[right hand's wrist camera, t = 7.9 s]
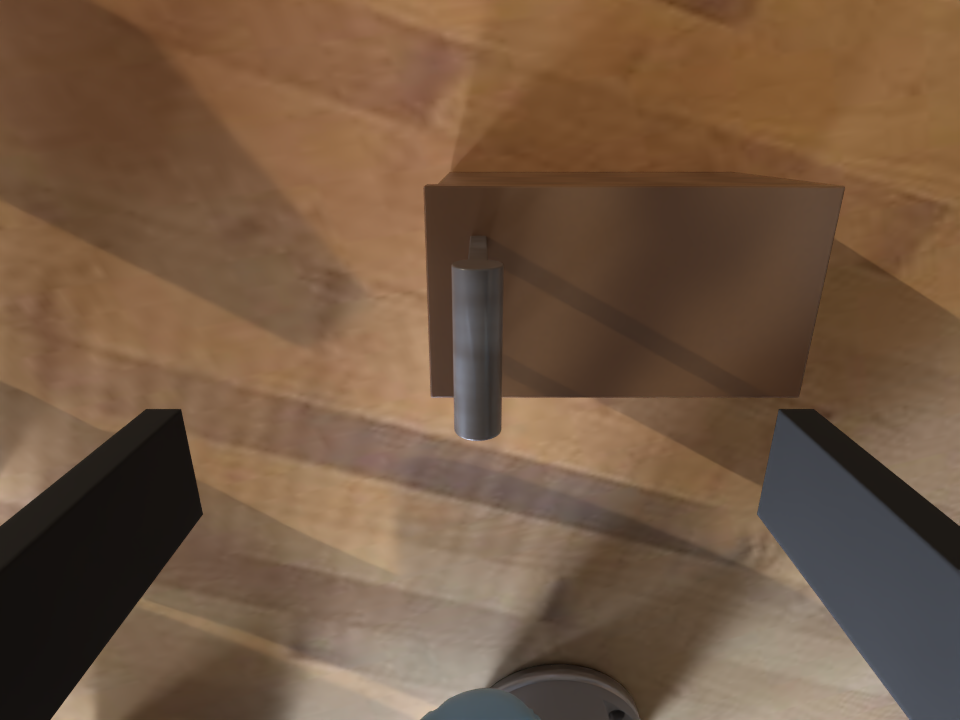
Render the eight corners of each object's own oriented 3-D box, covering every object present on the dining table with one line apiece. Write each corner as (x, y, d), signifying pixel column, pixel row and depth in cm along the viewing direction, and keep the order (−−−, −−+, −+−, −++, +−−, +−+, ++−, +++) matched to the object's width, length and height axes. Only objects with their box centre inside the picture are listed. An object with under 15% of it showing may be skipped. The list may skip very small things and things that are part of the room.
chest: (451, 325, 38) (442, 388, 29) (449, 172, 35) (436, 184, 25) (708, 325, 38) (787, 388, 29) (732, 171, 35) (830, 184, 25)
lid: (432, 388, 29) (412, 488, 20) (425, 184, 25) (398, 205, 17) (787, 388, 29) (911, 488, 20) (830, 184, 25) (1002, 205, 17)
